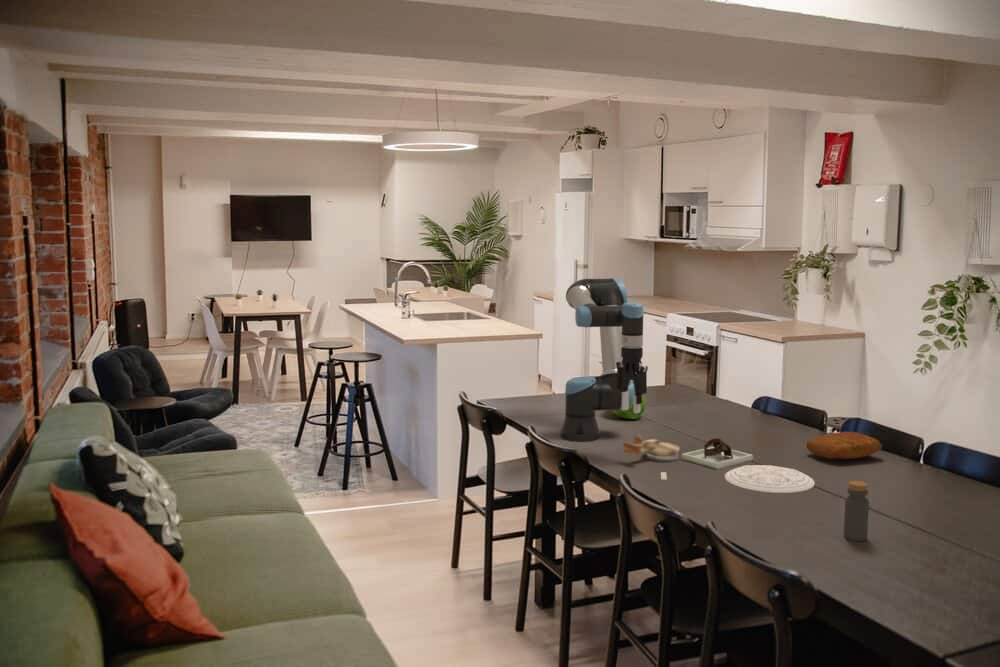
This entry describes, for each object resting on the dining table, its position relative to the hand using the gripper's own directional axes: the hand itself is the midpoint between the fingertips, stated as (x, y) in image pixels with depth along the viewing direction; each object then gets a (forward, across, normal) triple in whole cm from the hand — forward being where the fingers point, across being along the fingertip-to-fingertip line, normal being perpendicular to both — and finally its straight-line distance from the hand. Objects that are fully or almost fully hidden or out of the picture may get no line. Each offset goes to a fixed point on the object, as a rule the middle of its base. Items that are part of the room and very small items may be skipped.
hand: (630, 411), depth 317 cm
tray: (+17, +21, +22) cm, 35 cm away
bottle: (+17, +94, -8) cm, 96 cm away
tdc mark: (+17, +24, -8) cm, 30 cm away
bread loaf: (+17, +46, +60) cm, 78 cm away
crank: (+14, +7, +4) cm, 16 cm away
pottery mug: (+16, +21, +23) cm, 35 cm away
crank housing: (+17, +7, +9) cm, 20 cm away
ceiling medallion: (+17, +47, +17) cm, 53 cm away
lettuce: (+17, -49, +44) cm, 68 cm away
